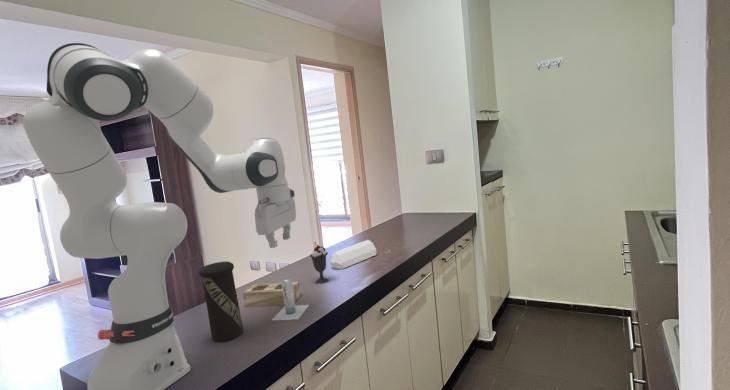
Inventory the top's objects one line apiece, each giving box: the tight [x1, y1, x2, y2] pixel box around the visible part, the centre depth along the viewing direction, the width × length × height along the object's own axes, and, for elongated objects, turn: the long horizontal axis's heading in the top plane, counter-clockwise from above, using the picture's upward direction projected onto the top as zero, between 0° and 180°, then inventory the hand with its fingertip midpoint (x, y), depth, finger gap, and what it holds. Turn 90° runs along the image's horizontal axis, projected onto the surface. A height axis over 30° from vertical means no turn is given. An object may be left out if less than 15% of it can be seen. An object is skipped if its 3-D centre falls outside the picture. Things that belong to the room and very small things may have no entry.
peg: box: [280, 277, 296, 315], centre depth 114 cm, size 3×3×10 cm
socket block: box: [242, 280, 302, 308], centre depth 126 cm, size 8×16×5 cm, turn 79°
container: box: [198, 261, 244, 343], centre depth 103 cm, size 9×9×20 cm
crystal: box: [329, 239, 377, 270], centre depth 162 cm, size 7×7×24 cm
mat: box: [271, 304, 310, 321], centre depth 115 cm, size 10×8×1 cm
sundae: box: [309, 242, 330, 284], centre depth 141 cm, size 7×7×15 cm
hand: (280, 243), depth 112 cm, fingers open, 8 cm apart
